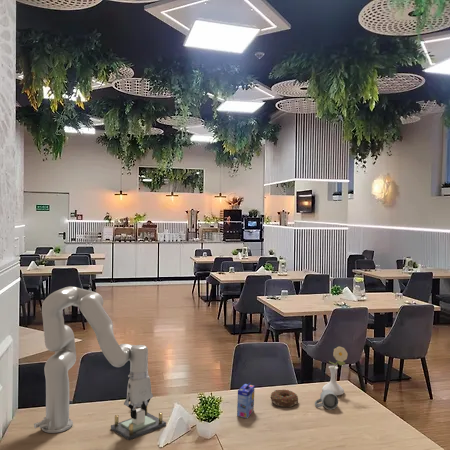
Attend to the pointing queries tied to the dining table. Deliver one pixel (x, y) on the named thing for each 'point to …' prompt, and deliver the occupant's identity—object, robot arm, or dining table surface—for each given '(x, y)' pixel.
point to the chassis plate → (132, 434)
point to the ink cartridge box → (245, 400)
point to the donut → (284, 398)
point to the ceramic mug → (327, 400)
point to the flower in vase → (333, 385)
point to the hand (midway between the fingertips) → (138, 416)
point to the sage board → (135, 427)
